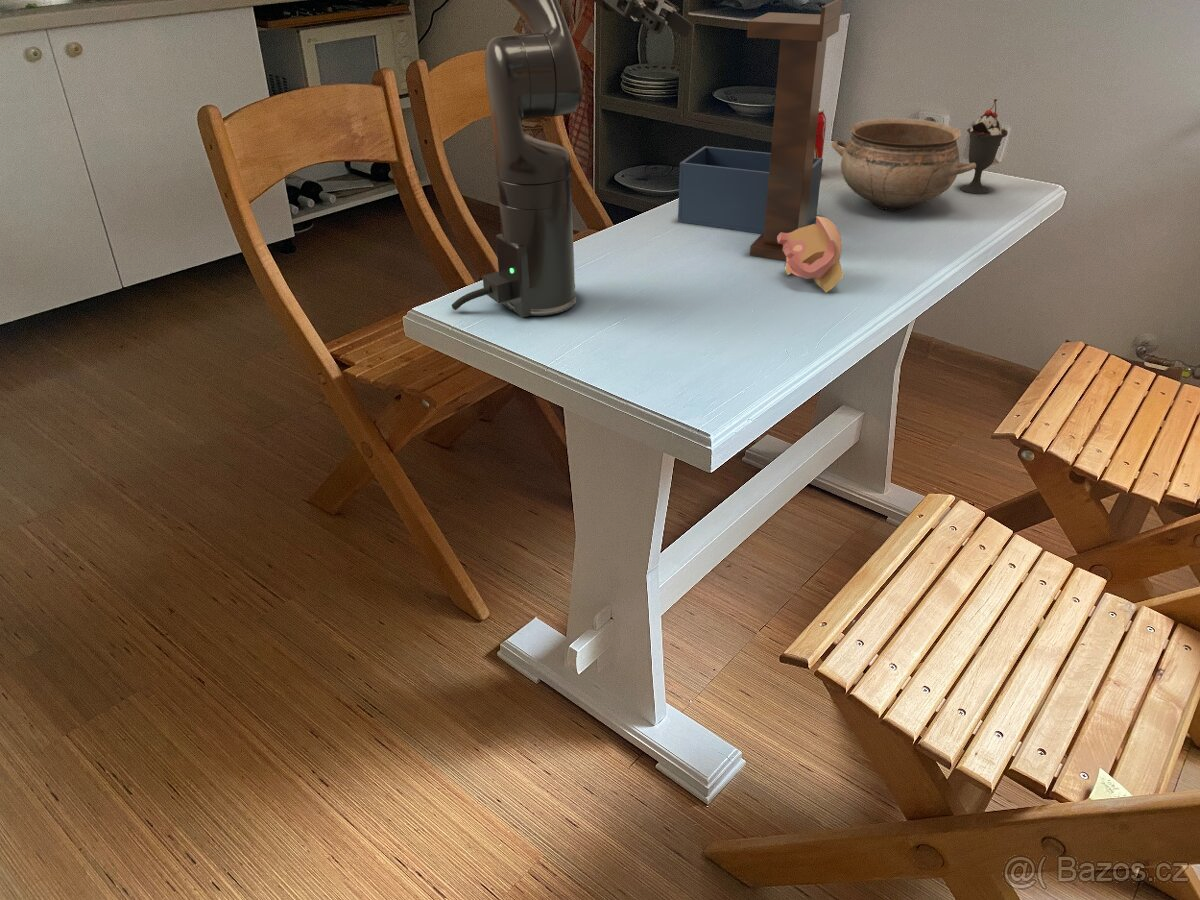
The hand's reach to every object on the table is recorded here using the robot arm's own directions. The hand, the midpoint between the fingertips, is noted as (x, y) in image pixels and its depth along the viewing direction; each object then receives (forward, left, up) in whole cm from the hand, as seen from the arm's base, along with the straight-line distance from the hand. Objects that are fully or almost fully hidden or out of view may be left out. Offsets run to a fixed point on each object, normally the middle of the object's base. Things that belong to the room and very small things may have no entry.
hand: (675, 29), depth 135 cm
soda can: (+33, +3, -29) cm, 44 cm away
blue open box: (+8, -10, -28) cm, 31 cm away
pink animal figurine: (-2, -35, -29) cm, 45 cm away
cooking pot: (+33, -19, -29) cm, 48 cm away
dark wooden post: (+2, -23, -28) cm, 36 cm away
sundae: (+51, -22, -29) cm, 63 cm away
